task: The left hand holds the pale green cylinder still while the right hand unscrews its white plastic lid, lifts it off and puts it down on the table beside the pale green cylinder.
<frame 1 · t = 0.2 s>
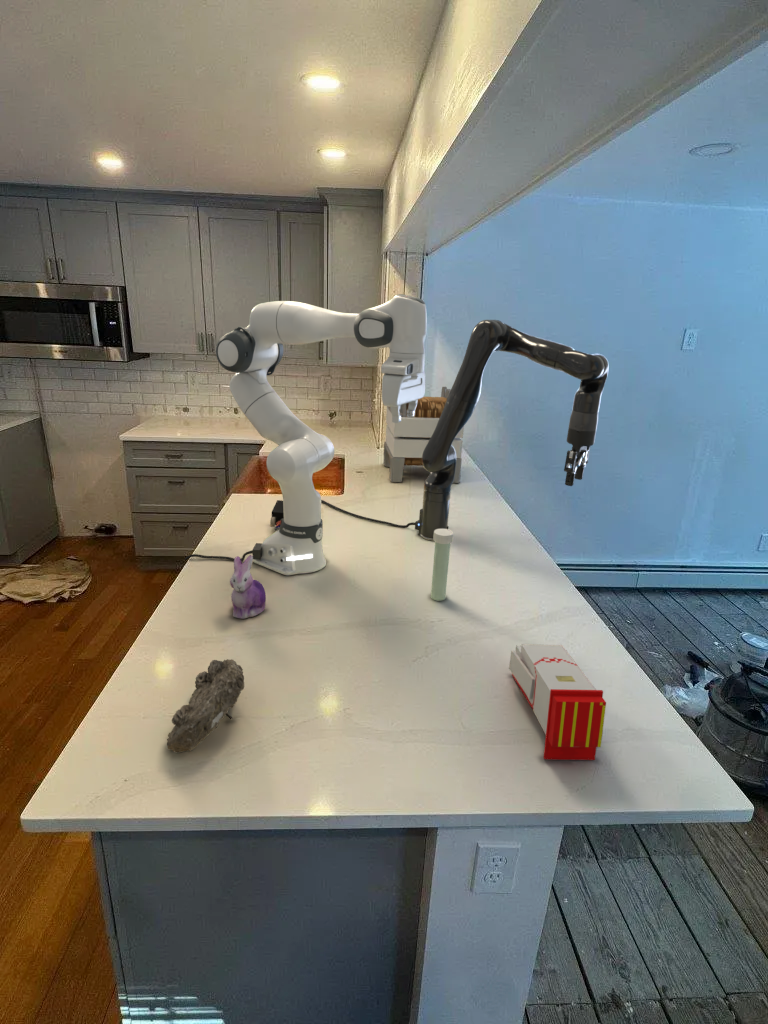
left hand: (403, 419, 146), 48 cm above the counter, tool pointing down, fingers open, 8 cm apart
right hand: (573, 482, 165), 29 cm above the counter, tool pointing down, fingers open, 8 cm apart
lid: (443, 533, 151), point 19 cm above the counter, screwed on, not yet turned
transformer: (419, 473, 275), on the counter
figurine: (248, 611, 146), on the counter
figurine character: (282, 526, 202), on the counter
fossil: (212, 717, 108), on the counter
pale green cylinder: (438, 597, 157), on the counter
toy: (546, 710, 114), on the counter
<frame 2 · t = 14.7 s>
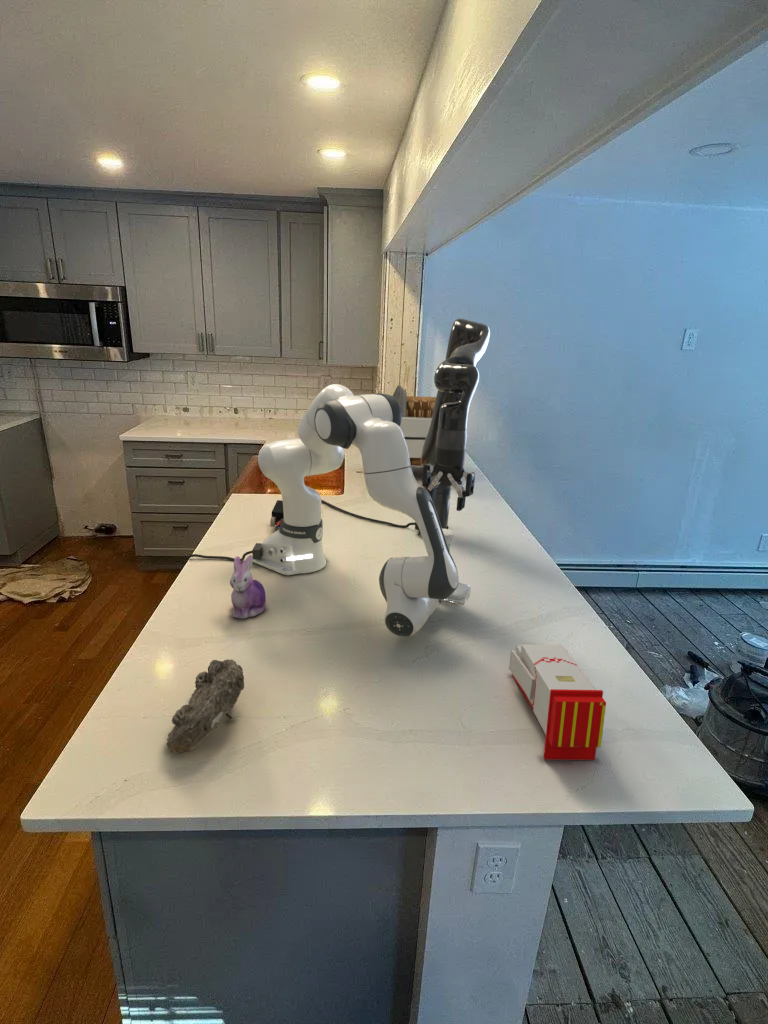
left hand: (440, 575, 156), 6 cm above the counter, tool horizontal, fingers closed on pale green cylinder, 4 cm apart
right hand: (445, 506, 148), 27 cm above the counter, tool pointing down, fingers open, 7 cm apart
pale green cylinder: (438, 597, 157), on the counter, touching left hand
everything else where it was.
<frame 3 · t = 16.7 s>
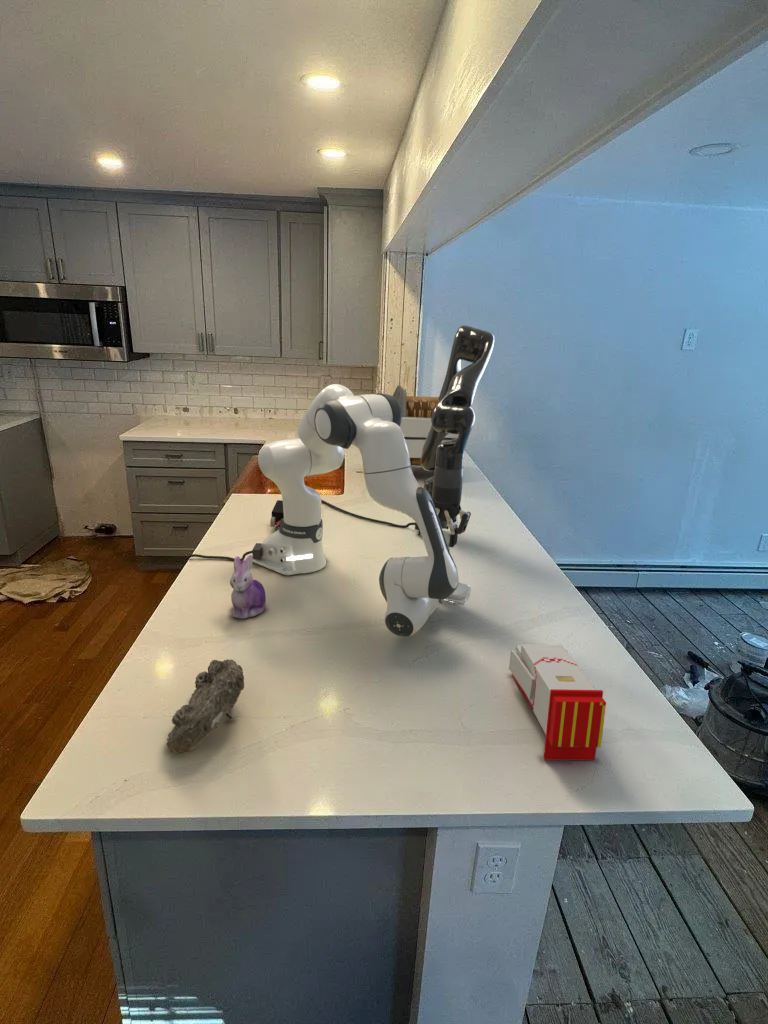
left hand: (440, 575, 156), 6 cm above the counter, tool horizontal, fingers closed on pale green cylinder, 4 cm apart
right hand: (442, 543, 152), 16 cm above the counter, tool pointing down, fingers closed on lid, 5 cm apart
lid: (443, 533, 151), point 19 cm above the counter, screwed on, not yet turned, touching right hand
pale green cylinder: (438, 597, 157), on the counter, touching left hand
everything else where it was.
when the right hand's fingers open (16 cm above the counter, at t = 18.3 s): lid stays where it is, point 19 cm above the counter.
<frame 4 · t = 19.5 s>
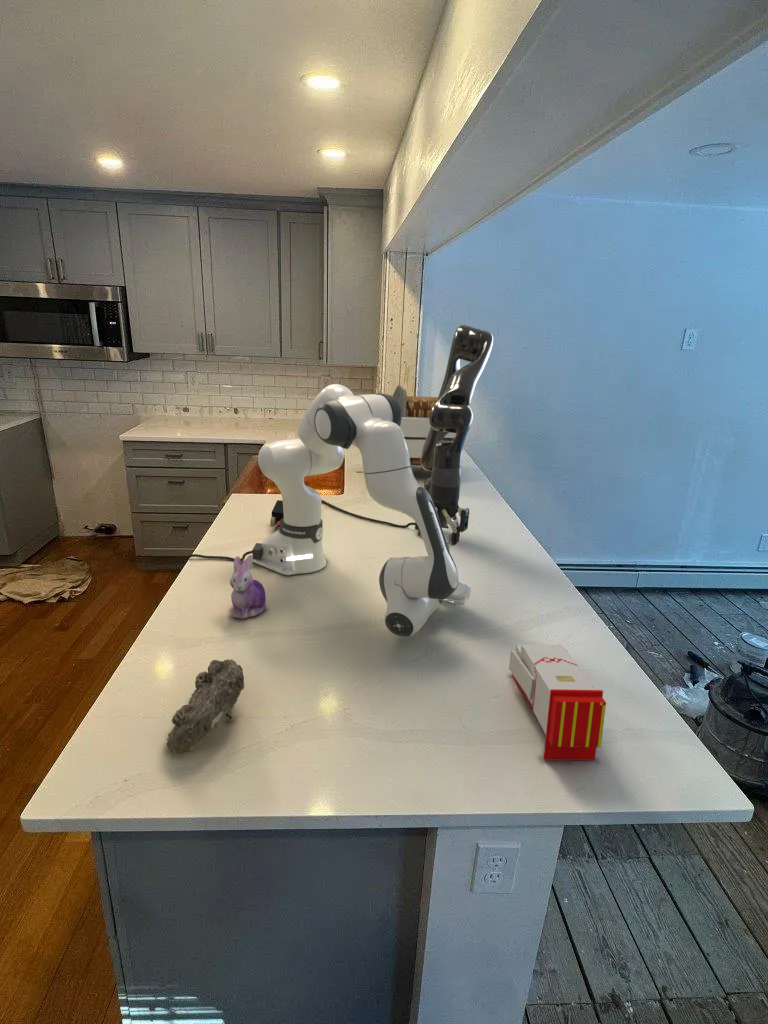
left hand: (440, 575, 156), 6 cm above the counter, tool horizontal, fingers closed on pale green cylinder, 4 cm apart
right hand: (440, 540, 151), 17 cm above the counter, tool pointing down, fingers open, 7 cm apart
lid: (443, 532, 150), point 19 cm above the counter, turned 90° so far, risen 0.2 cm, still on its thread
pale green cylinder: (438, 597, 157), on the counter, touching left hand
everything else where it was.
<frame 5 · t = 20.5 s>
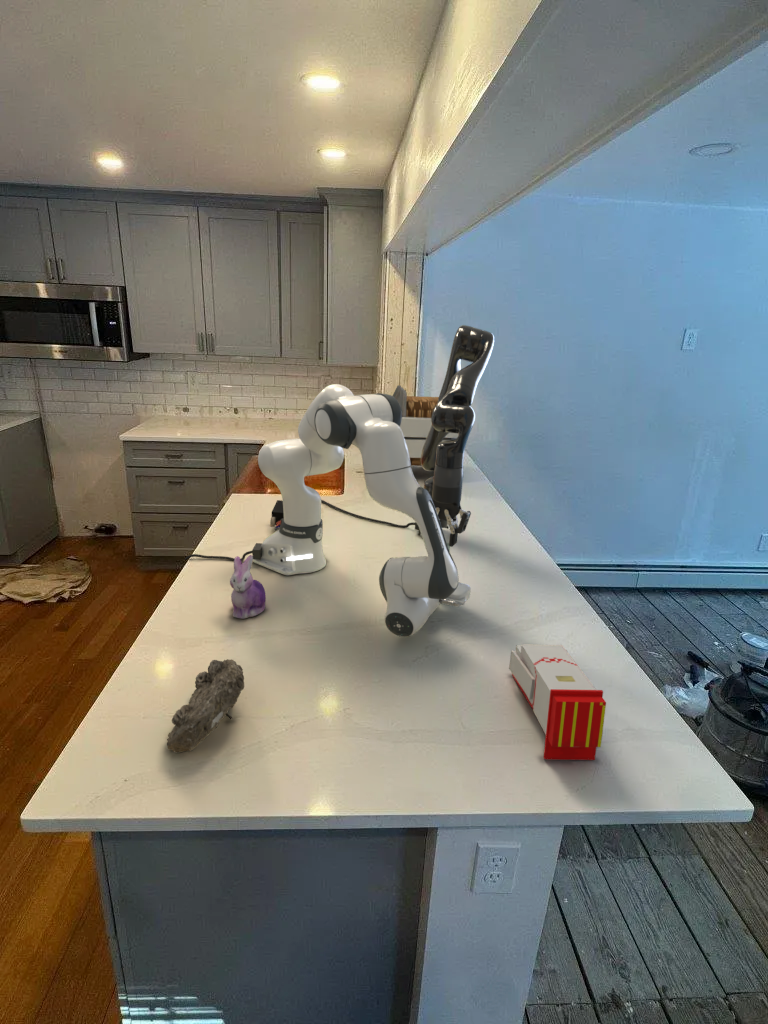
left hand: (440, 575, 156), 6 cm above the counter, tool horizontal, fingers closed on pale green cylinder, 4 cm apart
right hand: (442, 542, 152), 16 cm above the counter, tool pointing down, fingers closed on lid, 5 cm apart
lid: (443, 532, 150), point 19 cm above the counter, turned 90° so far, risen 0.2 cm, still on its thread, touching right hand
pale green cylinder: (438, 597, 157), on the counter, touching left hand
everything else where it was.
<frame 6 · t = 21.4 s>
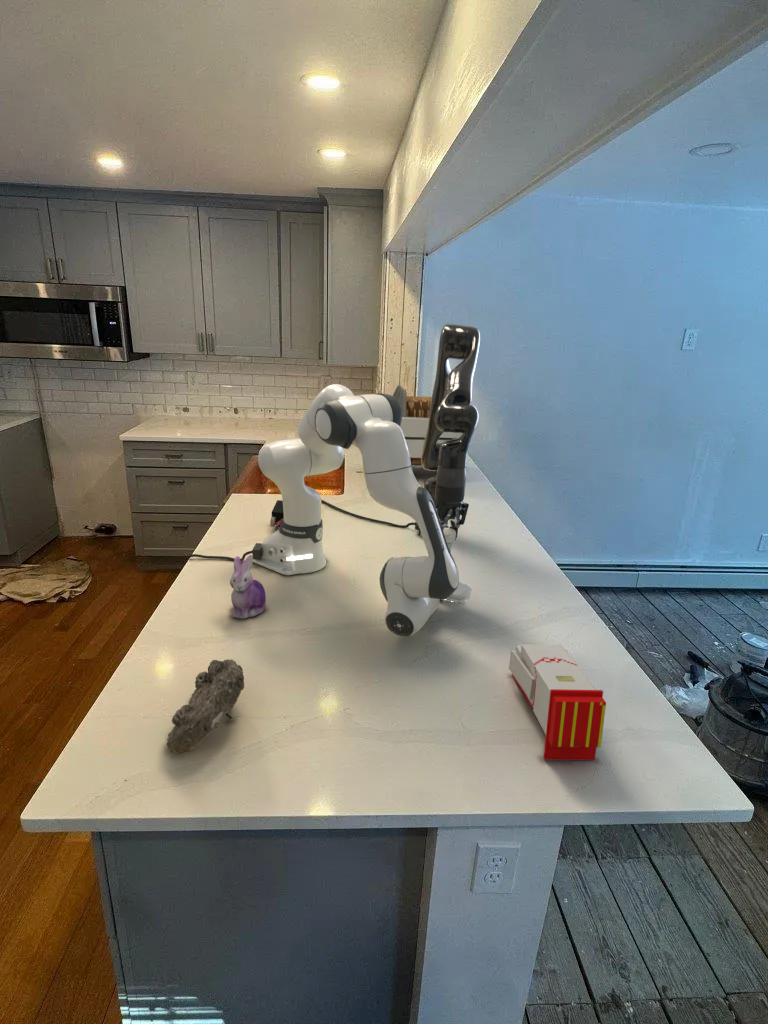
left hand: (441, 575, 156), 6 cm above the counter, tool horizontal, fingers closed on pale green cylinder, 4 cm apart
right hand: (445, 542, 151), 16 cm above the counter, tool pointing down, fingers closed on lid, 5 cm apart
lid: (446, 532, 150), point 19 cm above the counter, off its thread, touching right hand
pale green cylinder: (438, 596, 157), on the counter, touching left hand
everything else where it was.
when the right hand's fingers open (1 cm above the counter, at t = 26.8 s): lid drops 2 cm, point 2 cm above the counter.
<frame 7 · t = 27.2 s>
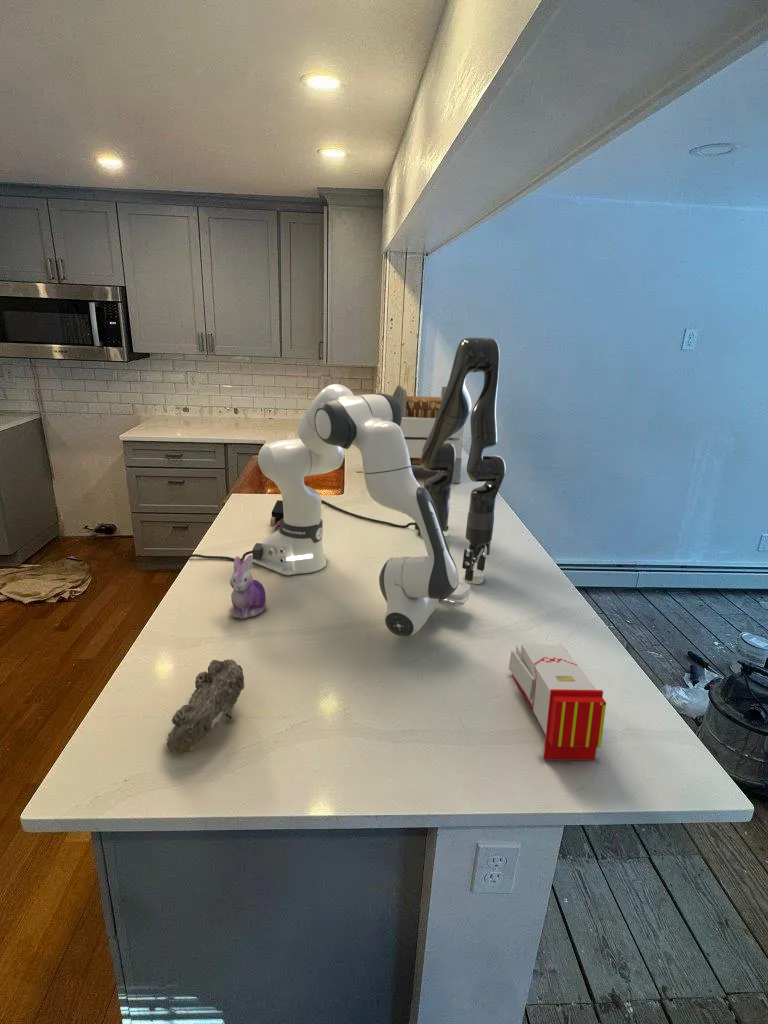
left hand: (440, 575, 156), 6 cm above the counter, tool horizontal, fingers closed on pale green cylinder, 4 cm apart
right hand: (474, 575, 168), 2 cm above the counter, tool pointing down, fingers open, 8 cm apart
lid: (475, 573, 167), point 2 cm above the counter, off its thread
pale green cylinder: (437, 596, 157), on the counter, touching left hand
everything else where it was.
when the left hand's fingers open (6 cm above the counter, at t = 27.8 s): pale green cylinder stays where it is, on the counter.
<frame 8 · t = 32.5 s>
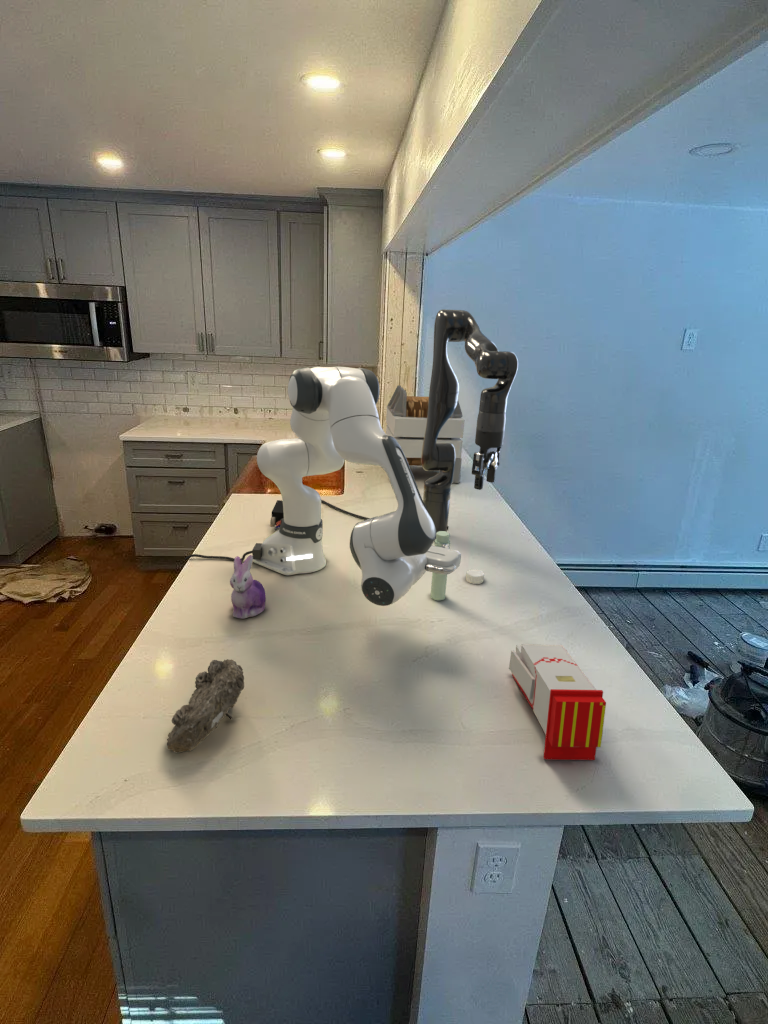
left hand: (428, 542, 140), 21 cm above the counter, tool horizontal, fingers open, 8 cm apart
right hand: (484, 485, 158), 29 cm above the counter, tool pointing down, fingers open, 8 cm apart
pale green cylinder: (437, 597, 157), on the counter
everything else where it was.
at the end: lid came off its thread; lid point 2.1 cm above the counter; the left hand is holding nothing; the right hand is holding nothing; pale green cylinder tilted 0°; pale green cylinder moved 0.2 cm from its start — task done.
